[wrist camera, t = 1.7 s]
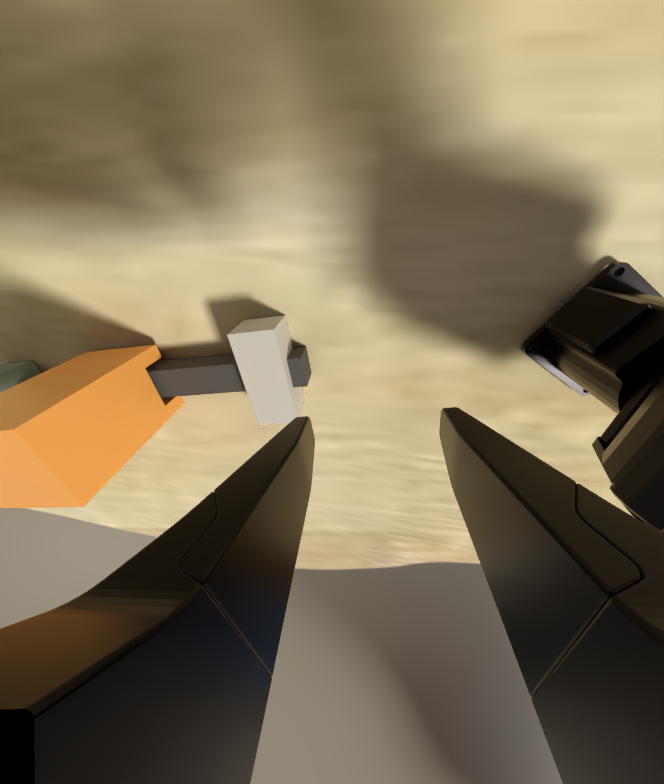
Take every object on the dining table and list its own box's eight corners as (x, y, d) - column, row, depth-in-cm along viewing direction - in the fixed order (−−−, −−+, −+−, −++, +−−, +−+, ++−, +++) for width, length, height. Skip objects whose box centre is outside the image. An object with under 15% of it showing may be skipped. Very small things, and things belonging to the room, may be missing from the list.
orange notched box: (155, 344, 20) (12, 429, 12) (184, 403, 23) (83, 506, 15) (85, 352, 21) (-93, 436, 13) (121, 407, 24) (-9, 508, 16)
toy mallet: (299, 313, 19) (281, 339, 15) (316, 399, 22) (306, 440, 18) (-4, 348, 23) (-89, 377, 18) (51, 417, 26) (-9, 455, 22)
